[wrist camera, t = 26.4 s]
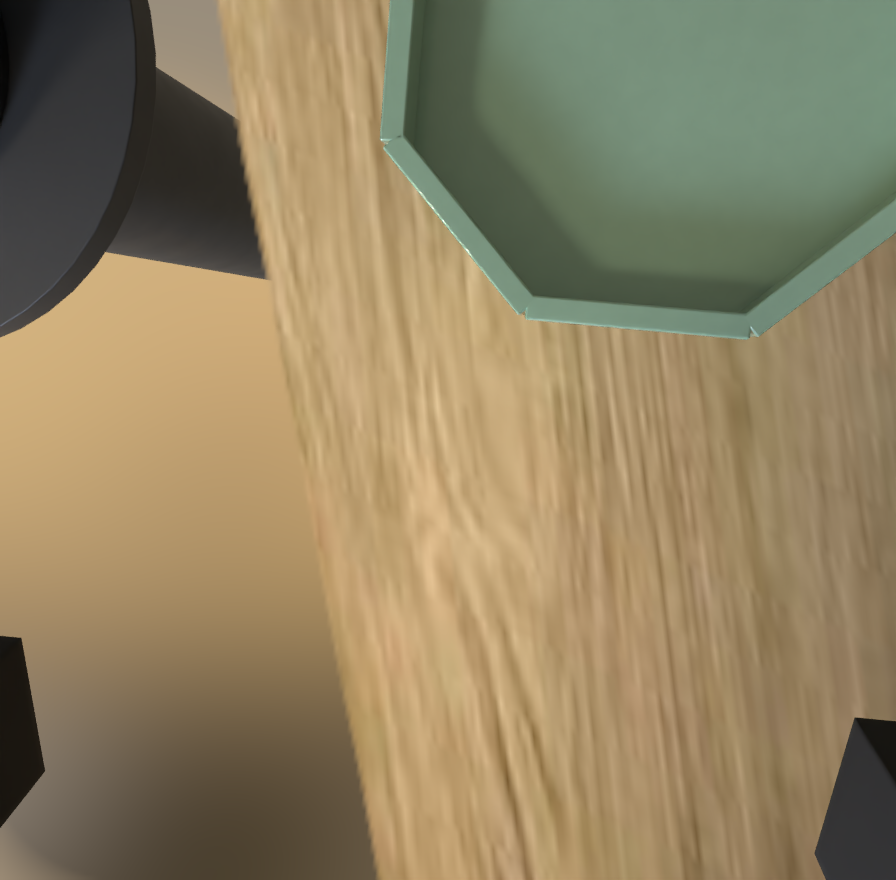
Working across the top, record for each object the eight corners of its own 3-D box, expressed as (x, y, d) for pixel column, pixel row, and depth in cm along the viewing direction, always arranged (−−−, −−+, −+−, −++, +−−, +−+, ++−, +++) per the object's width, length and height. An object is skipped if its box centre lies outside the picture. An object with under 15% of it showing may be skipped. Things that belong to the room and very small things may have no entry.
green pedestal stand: (450, 316, 31) (366, 305, 18) (480, -19, 29) (410, -296, 16) (774, 345, 29) (933, 357, 16) (831, -11, 27) (1065, -316, 14)
